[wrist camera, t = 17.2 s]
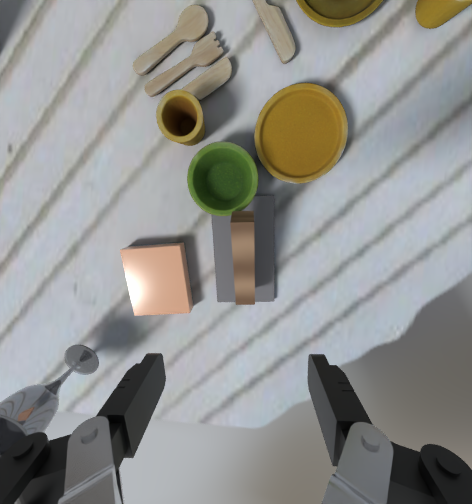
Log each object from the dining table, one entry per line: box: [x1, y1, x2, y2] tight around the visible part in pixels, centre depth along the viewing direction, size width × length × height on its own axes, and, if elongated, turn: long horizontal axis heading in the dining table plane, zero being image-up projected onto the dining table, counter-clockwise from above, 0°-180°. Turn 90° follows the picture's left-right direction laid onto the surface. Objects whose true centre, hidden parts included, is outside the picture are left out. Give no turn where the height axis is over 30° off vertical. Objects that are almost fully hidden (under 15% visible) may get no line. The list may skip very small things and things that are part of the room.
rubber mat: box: [212, 195, 274, 302], centre depth 37 cm, size 18×10×1 cm, turn 2°
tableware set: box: [133, 0, 472, 216], centre depth 27 cm, size 41×28×6 cm
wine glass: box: [0, 345, 99, 457], centre depth 37 cm, size 8×8×15 cm
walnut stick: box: [230, 211, 255, 305], centre depth 33 cm, size 14×3×4 cm, turn 2°
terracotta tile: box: [120, 242, 193, 316], centre depth 38 cm, size 3×10×12 cm
